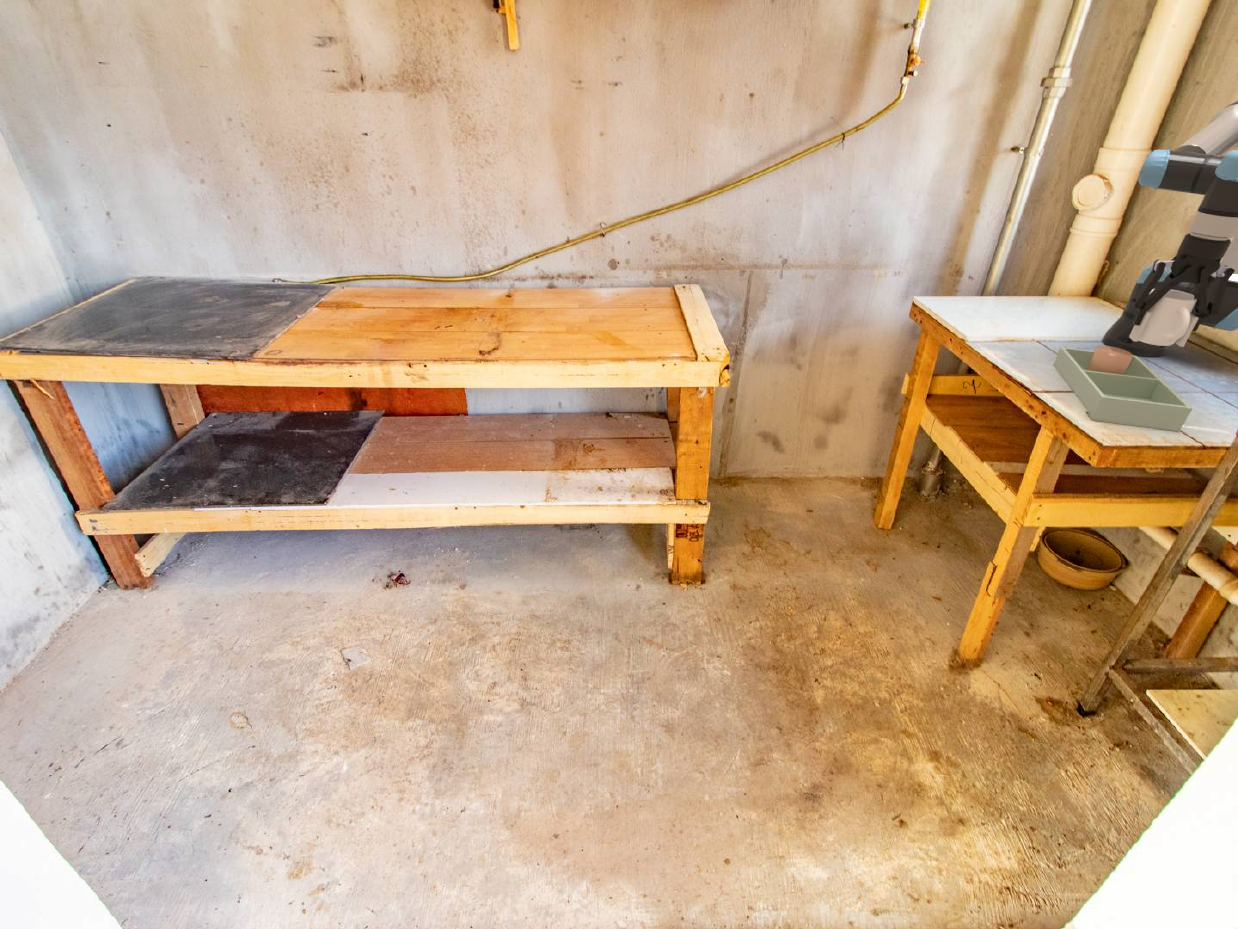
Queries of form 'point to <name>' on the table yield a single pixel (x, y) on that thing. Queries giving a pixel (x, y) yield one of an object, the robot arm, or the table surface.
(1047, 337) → the table surface
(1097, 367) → the peach rounded cylinder
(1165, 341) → the mug
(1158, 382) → the caddy
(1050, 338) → the table surface
